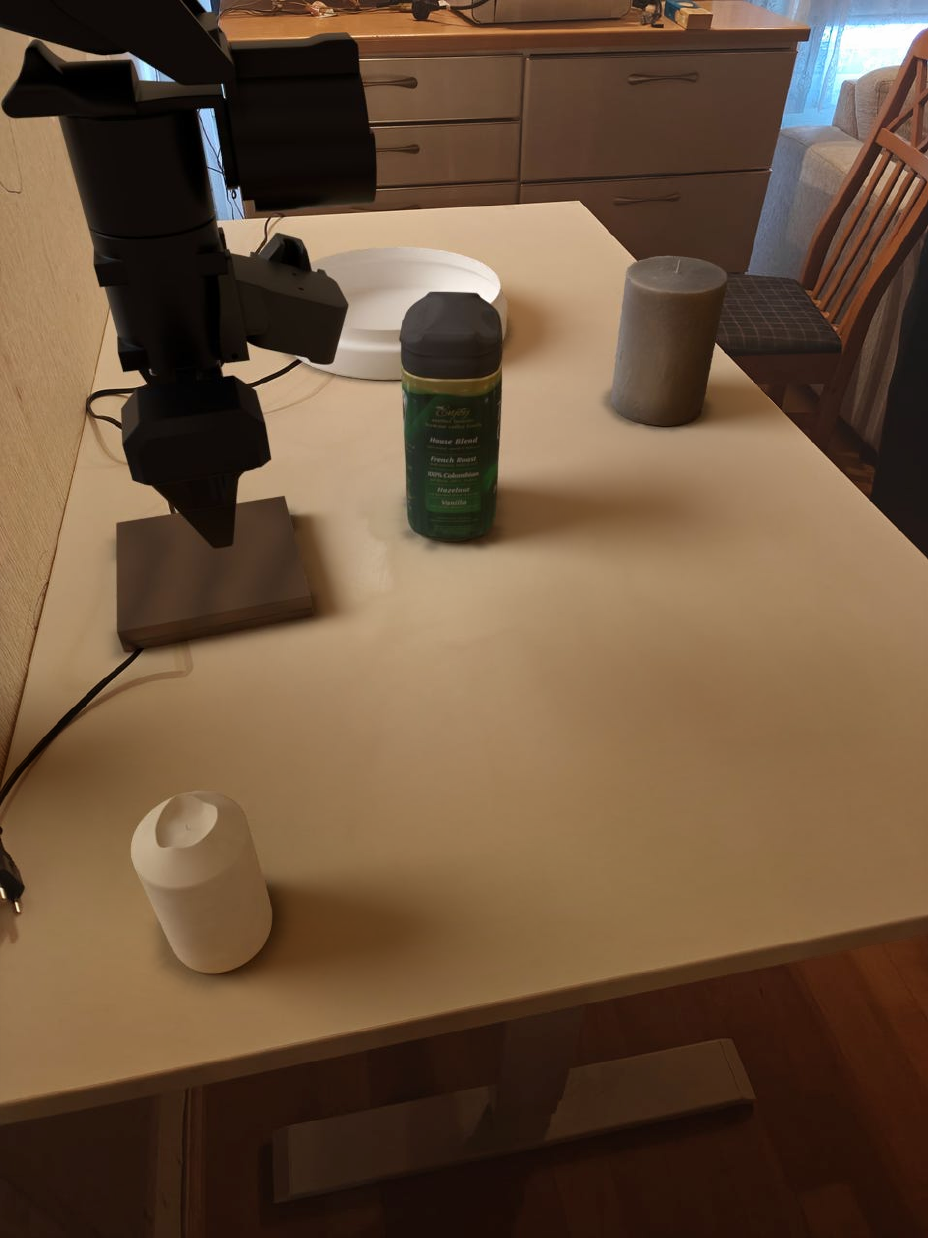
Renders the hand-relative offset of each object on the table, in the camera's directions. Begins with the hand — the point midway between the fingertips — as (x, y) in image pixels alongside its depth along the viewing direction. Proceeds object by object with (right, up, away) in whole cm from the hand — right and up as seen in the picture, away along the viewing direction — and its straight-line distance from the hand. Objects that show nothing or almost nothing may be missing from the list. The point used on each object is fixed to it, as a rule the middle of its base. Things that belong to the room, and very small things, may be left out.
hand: (215, 500), depth 51 cm
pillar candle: (+35, +16, +41) cm, 56 cm away
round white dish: (+6, +28, +55) cm, 62 cm away
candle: (+1, -24, -3) cm, 24 cm away
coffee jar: (+14, +2, +26) cm, 30 cm away
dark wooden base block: (-6, -4, +20) cm, 21 cm away
